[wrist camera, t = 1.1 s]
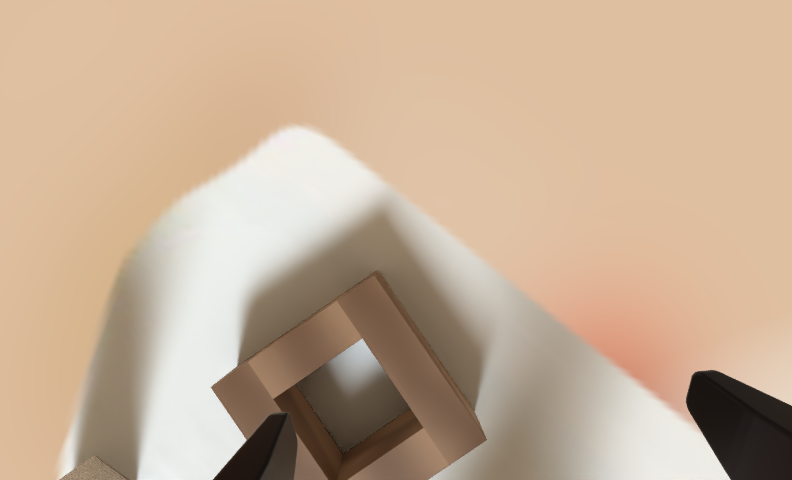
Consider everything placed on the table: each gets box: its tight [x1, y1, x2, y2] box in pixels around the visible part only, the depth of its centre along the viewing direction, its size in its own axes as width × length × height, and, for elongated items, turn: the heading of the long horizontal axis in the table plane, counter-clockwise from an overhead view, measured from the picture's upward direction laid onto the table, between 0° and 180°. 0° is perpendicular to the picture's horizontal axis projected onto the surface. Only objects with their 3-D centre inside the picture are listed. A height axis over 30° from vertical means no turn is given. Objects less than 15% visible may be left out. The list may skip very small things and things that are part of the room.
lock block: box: [211, 270, 487, 480], centre depth 24 cm, size 11×11×4 cm
